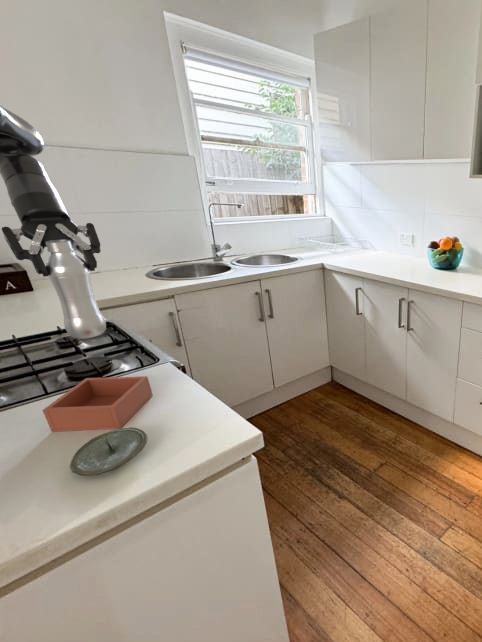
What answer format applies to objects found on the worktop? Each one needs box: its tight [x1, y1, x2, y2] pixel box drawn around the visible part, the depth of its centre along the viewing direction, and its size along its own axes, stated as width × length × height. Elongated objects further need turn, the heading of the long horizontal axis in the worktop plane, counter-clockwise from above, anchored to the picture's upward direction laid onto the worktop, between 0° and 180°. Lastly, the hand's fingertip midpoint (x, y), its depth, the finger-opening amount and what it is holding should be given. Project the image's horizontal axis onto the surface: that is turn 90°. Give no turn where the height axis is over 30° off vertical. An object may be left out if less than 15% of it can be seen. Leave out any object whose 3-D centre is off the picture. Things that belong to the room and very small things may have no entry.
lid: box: [69, 427, 148, 477], centre depth 62 cm, size 11×10×5 cm
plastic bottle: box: [45, 240, 107, 340], centre depth 77 cm, size 6×7×20 cm
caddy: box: [42, 375, 154, 432], centre depth 74 cm, size 12×12×5 cm
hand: (70, 271), depth 75 cm, fingers closed on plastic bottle, 6 cm apart
